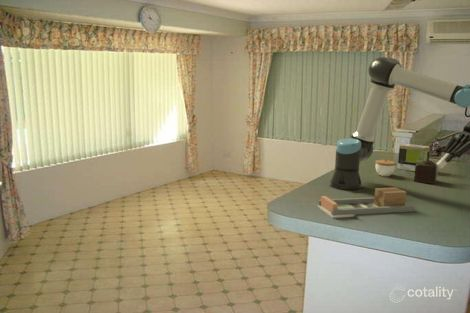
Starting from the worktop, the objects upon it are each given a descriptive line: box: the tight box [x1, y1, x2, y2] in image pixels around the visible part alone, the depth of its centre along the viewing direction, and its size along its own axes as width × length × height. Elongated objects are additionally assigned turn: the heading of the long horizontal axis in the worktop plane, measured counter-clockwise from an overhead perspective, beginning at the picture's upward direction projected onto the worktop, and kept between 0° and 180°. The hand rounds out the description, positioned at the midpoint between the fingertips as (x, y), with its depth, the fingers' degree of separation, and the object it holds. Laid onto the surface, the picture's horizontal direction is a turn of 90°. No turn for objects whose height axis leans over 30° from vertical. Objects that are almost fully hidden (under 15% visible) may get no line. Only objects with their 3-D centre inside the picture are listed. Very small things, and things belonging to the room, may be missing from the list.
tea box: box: [397, 143, 431, 172], centre depth 248 cm, size 15×10×15 cm
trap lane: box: [317, 195, 416, 219], centre depth 170 cm, size 14×36×5 cm, turn 103°
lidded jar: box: [374, 158, 397, 177], centre depth 232 cm, size 11×11×9 cm
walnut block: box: [373, 187, 407, 207], centre depth 172 cm, size 7×10×7 cm
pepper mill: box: [413, 146, 444, 185], centre depth 222 cm, size 16×11×18 cm
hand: (439, 166), depth 175 cm, fingers closed
